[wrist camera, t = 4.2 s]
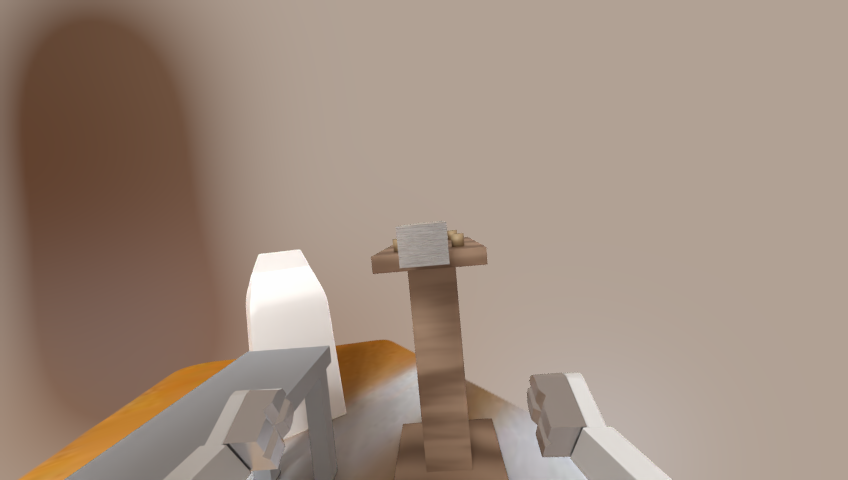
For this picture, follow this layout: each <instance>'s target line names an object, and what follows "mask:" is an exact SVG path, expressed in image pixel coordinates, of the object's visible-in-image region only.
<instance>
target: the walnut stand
mask: <svg viewBox="0 0 848 480" xmlns="http://www.w3.org/2000/svg"><path fill="white" fill-rule="evenodd" d="M447 234H448V250H449V262H450V264H445V265H434V266H422V267H410V268H400V266H399V255H398V245H397V239H394V240H393V245H392V246H390V247H388V248H386V249H384V250H383V251H381V252H379V253H377V254H376V255H374V256H372V257H371V260H372V270H373V274H376V273H377V274H378V273H389V272H401V271H408V279H409V289H410V300H411V311H412V321H413V332H414V343H415V353H416V364H417V374H418V385H419V396H420V406H421V417H422V423H411V424H403V427H402V433H401V439H400V445H399V452H398V458H397V464H396V470H395V476H394V480H509V479H508V476H507V472H506V469H505V465H504V461H503V458H502V454H501V451H500V447H499V443H498V440H497V436H496V433H495V429H494V426H493V422H492V418H491V419H475V420H468V408H467V397H466V385H465V373H464V361H463V350H462V338H461V328H460V327H461V326H460V316H459V315H460V314H459V303H458V291H457V279H456V267H462V266H473V265H485V264H487V252H486V247H485V246H483V245H481V244H479V243H478V242H476V241H474V240H472V239H470V238H468V237H465V238H464V236H463V233H459V234H457V230H451V231H447Z"/></svg>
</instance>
